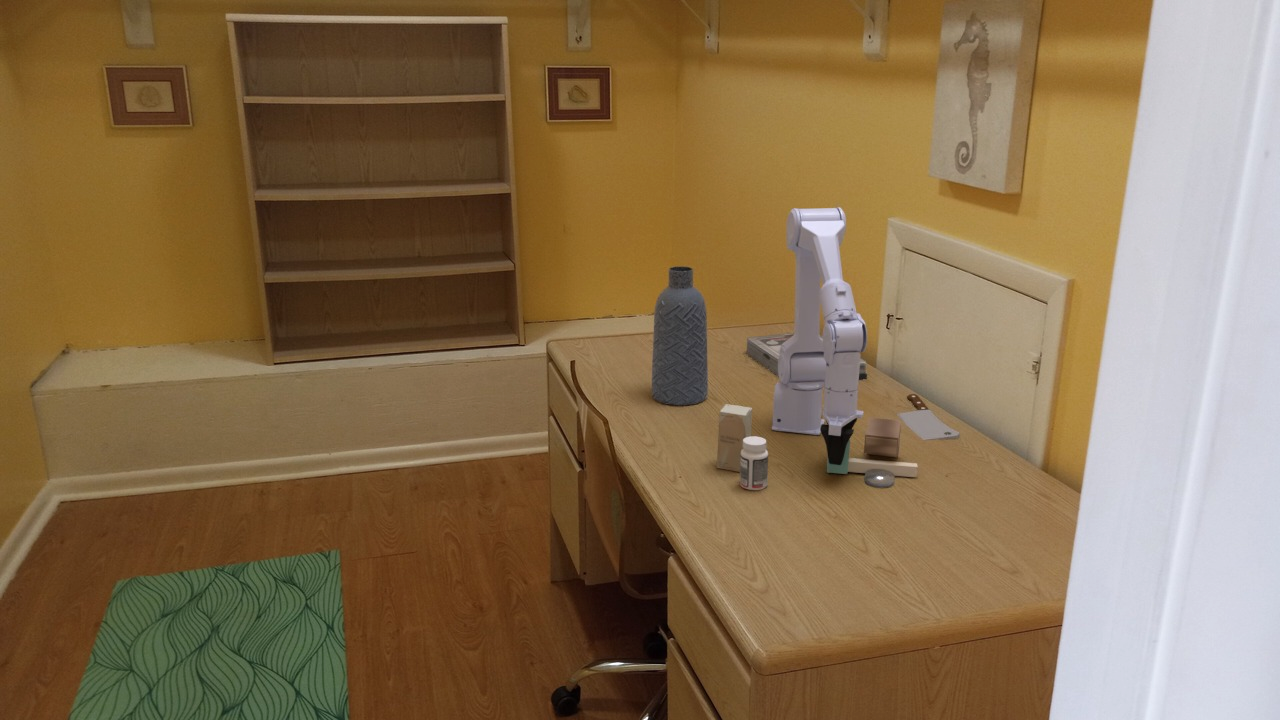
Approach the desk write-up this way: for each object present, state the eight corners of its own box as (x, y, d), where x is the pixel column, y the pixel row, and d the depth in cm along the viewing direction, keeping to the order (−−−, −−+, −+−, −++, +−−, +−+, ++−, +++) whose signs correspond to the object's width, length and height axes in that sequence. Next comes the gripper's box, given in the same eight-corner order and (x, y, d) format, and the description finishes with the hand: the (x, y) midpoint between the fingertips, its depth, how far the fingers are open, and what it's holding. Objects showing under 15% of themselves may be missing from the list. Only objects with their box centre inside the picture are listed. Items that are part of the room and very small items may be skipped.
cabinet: (862, 471, 179) (865, 434, 177) (866, 452, 187) (869, 417, 185) (895, 475, 177) (898, 438, 175) (898, 456, 185) (901, 420, 183)
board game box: (793, 389, 223) (794, 370, 221) (745, 354, 247) (745, 337, 246) (866, 381, 228) (868, 362, 226) (812, 348, 252) (813, 331, 251)
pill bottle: (769, 481, 175) (771, 437, 172) (763, 492, 170) (765, 447, 168) (743, 478, 176) (744, 433, 174) (736, 488, 172) (738, 443, 169)
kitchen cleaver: (879, 395, 216) (925, 392, 216) (879, 400, 216) (925, 397, 216) (911, 439, 192) (963, 436, 192) (911, 444, 193) (962, 441, 193)
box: (716, 468, 180) (717, 410, 177) (723, 459, 184) (724, 403, 180) (744, 472, 178) (746, 414, 175) (750, 463, 182) (752, 406, 179)
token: (863, 487, 173) (864, 478, 173) (865, 475, 178) (866, 467, 177) (893, 490, 172) (893, 482, 171) (894, 479, 176) (895, 470, 176)
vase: (695, 385, 224) (697, 261, 215) (716, 403, 213) (719, 272, 204) (643, 391, 220) (643, 265, 212) (662, 409, 209) (663, 277, 201)
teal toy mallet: (827, 472, 177) (829, 441, 175) (826, 464, 180) (829, 433, 178) (917, 479, 175) (920, 448, 173) (915, 471, 178) (918, 440, 176)
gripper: (860, 402, 166) (855, 477, 170) (868, 376, 179) (863, 446, 183) (818, 398, 168) (814, 472, 172) (828, 372, 181) (824, 442, 185)
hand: (836, 459), depth 178 cm, fingers closed on teal toy mallet, 4 cm apart
